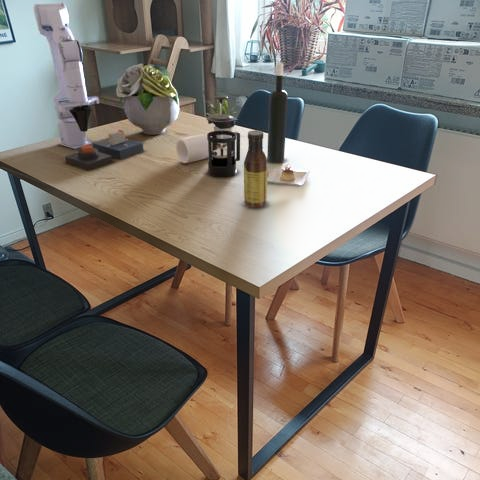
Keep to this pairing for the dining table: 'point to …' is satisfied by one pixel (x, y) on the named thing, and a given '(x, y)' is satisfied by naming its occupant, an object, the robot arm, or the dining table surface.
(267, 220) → the dining table surface
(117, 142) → the grey rectangular block
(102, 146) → the dial panel
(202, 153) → the mug
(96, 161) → the button base
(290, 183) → the dessert
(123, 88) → the flower arrangement
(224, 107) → the house plant
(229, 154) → the french press
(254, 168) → the sauce bottle
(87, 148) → the button
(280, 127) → the wine bottle
